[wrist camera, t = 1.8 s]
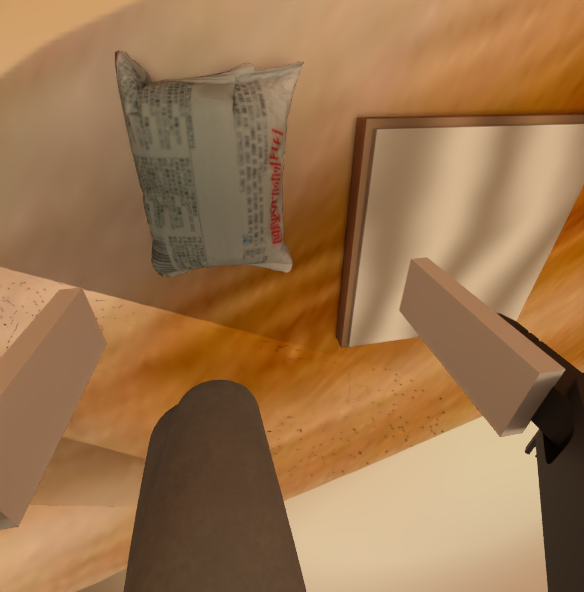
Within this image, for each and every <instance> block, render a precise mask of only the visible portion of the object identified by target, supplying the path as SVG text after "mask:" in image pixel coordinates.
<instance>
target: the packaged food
mask: <svg viewBox="0 0 584 592" xmlns="http://www.w3.org/2000/svg"><path fill="white" fill-rule="evenodd" d="M137 64H138V63H137V62H136V61H134V60H132V59H131V58H130V57H129V56H128V54H127V53H126V52H122V51H117V52H115V65H116V74H117V82H118V87H119V93H120V98H121V103H122V108H123V112H124V116H125V122H126V127H127V131H128V136H129V140H130V145H131V150H132V153H133V157H134V161H135V165H136V170H137V174H138V178H139V182H140V187H141V189H142V191H143V202H144V208H145V212H146V216H147V222H148V225H149V227H150V232H151V235H152V237H153V244H152V258H151V261H152V264H153V267H154V269H155V270H156V271H157V272H158V273H159V274H161V276H162V277H163V275H167V277H174V276H175V275H179V274H184V273H186V272H187V271H189V270H191V269H197V268H202V267H207V268H209V267H213V266H234V265H239V264H245V265H253V266H258V267H263V268H270V269H272V270H277V271H283V272H287V273H288V272H290V270H291V268H292V263H293V260H292V258H291V255H290V252H289V250H288V247H287V246H286V244H285V242H284V237H283V235H284V226H283V186H282V174H283V169H284V162H283V155H284V153H285V142H286V131H287V124H286V121H287V117H288V114H289V110H290V106H291V100H292V95H293V92H294V89H295V86H296V82H297V79H298V76H299V73H300V71H301V68H302V65H303V64H304V62H296V63H293V64H289V65H286V66H283V67H277V68H269V69H266V70H263V71H253V70H254V68H255V67H253V66H252V65H251V64H249V63H243V64H241V65H239V66H237V67H235V68H233V69H231V70H230V71H228V72H223V73H219V74H214V75H209V76H202V77H195V78H188V79H180V80H162V81H158V82H154V83H152V81H151V79H150V77H149V75H148V73H147V72H146V71H145V70H144V69H143V68H142V67H141V66H140V65H139V64H138V65H139V66H138V65H137Z"/></svg>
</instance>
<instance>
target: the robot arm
mask: <svg viewBox="0 0 584 592" xmlns="http://www.w3.org/2000/svg"><path fill="white" fill-rule="evenodd" d="M399 311H400V312H401V314H402V315H403V316H404V317H405V319H406V320H407V321H408V322H409V324H410V325H411V326H412V327H413V329H414V330H415V331H416V332H417V334H418V335H419V336H420V337H421V339H422V340H423V341H424V342H425V344H426V345H427V346H428V347H429V349H430V350H431V351H432V352H433V354H434V355H435V356H436V357H437V359H438V360H439V361H440V362H441V364H442V365H443V366H444V367H445V369H446V370H447V371H448V372H449V374H450V375H451V376H452V377H453V379H454V380H455V381H456V382H457V384H458V385H459V386H460V387H461V389H462V390H463V391H464V392H465V394H466V395H467V396H468V397H469V399H470V400H471V401H472V402H473V404H474V405H475V406H476V407H477V409H478V410H479V411H480V412H481V414H482V415H483V416H484V417H485V418H486V420H487V421H488V422H489V424H490V425H491V426H492V427H493V429H494V430H495V431H496V432H497V434H498V435H499V436H500V437H503V436H509V435H514V434H519V433H523V431H524V430H525V428H526V427H527V425H528V424H529V422H530V421H531V420H532V422H533V423H534V424H535V425H536V426H537V427H538V428H539V430H538V432H537V433H536V434H535V436H534V437H533V438H532V440H531V441H530V442H529V444H528V445H527V447H526V450H525V453H527V454H530V452H531V451H532V450H533V448H534V447H536V452H537V455H536V456H535V457H537V464H538V475H539V488H540V499H541V512H542V522H543V523H542V524H543V536H544V548H545V559H546V572H547V583H548V592H584V373H582V372H580V371H579V370H578V369H576V368H575V367H574V366H573V365H571V364H570V363H569V362H567V361H566V360H565V359H564V358H562V357H561V356H560V355H558V354H557V353H556V352H555V351H553V350H552V349H551V348H550V347H548V346H547V345H546V344H544V343H543V342H542V341H539V339H538V338H537V337H535V336H534V335H533V334H532V333H528V330H527V329H525V328H524V327H523V326H521V325H520V324H519V323H518V322H516V321H515V320H513V319H511V318H509V317H507V316H505V315H503V314H501V313H495V312H494V311H493V310H492V309H491V308H489V307H488V306H487V305H486V304H484V303H483V302H482V301H481V300H479V299H478V298H477V297H476V296H474V295H473V294H472V293H471V292H469V291H468V290H467V289H466V288H465V287H463V286H462V285H461V284H460V283H458V282H457V281H456V280H455V279H453V278H452V277H451V276H450V275H448V274H447V273H446V272H445V271H444V270H442V269H441V268H440V267H439V266H437V265H436V264H435V263H434V262H432V261H431V260H430V259H429V258H427V257H426V258H414V259H411V261H410V265H409V269H408V274H407V278H406V283H405V287H404V291H403V296H402V300H401V304H400V309H399ZM106 345H107V343H106V340H105V338H104V336H103V334H102V331H101V329H100V327H99V325H98V322H97V320H96V318H95V316H94V313H93V311H92V309H91V307H90V304H89V302H88V300H87V298H86V295H85V293H84V291H83V289H82V288H74V289H63V290H59V291H58V292H57V293H56V294H55V296H54V297H53V298H52V299H51V300H50V301H49V303H48V304H47V305H46V306H45V307H44V308H43V310H42V311H41V312H40V313H39V314H38V315H37V316H36V318H35V319H34V320H33V321H32V322H31V323H30V325H29V326H28V327H27V328H26V329H25V330H24V332H23V333H22V334H21V335H20V336H19V337H18V338H17V340H16V341H15V342H14V343H13V344H12V345H11V347H10V348H9V349H8V350H7V351H6V352H5V354H4V355H3V356H2V357H1V358H0V530H2V529H8V528H13V527H18V526H19V524H20V522H21V520H22V518H23V516H24V514H25V512H26V510H27V508H28V506H29V504H30V501H31V499H32V497H33V495H34V493H35V491H36V489H37V487H38V485H39V483H40V481H41V479H42V477H43V475H44V473H45V471H46V468H47V466H48V464H49V462H50V460H51V458H52V456H53V454H54V452H55V450H56V448H57V446H58V444H59V442H60V440H61V437H62V435H63V433H64V431H65V429H66V427H67V425H68V423H69V421H70V419H71V417H72V415H73V413H74V411H75V409H76V407H77V404H78V402H79V400H80V398H81V396H82V394H83V392H84V390H85V388H86V386H87V384H88V382H89V380H90V378H91V376H92V374H93V371H94V369H95V367H96V365H97V363H98V361H99V359H100V357H101V355H102V353H103V351H104V349H105V347H106Z"/></svg>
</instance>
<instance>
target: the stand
mask: <svg viewBox="0 0 584 592" xmlns="http://www.w3.org/2000/svg"><path fill="white" fill-rule="evenodd" d="M583 185H584V113H583V114H529V115H475V116H420V117H366V118H357V127H356V137H355V148H354V158H353V169H352V179H351V189H350V200H349V210H348V220H347V231H346V241H345V252H344V262H343V272H342V283H341V293H340V303H339V314H338V324H337V335H336V338H337V340H338V342H339V344H340V346H341V348H344V347H351V346H358V345H365V344H372V343H379V342H386V341H393V340H400V339H407V338H414V337H420V336H419V335H418V334H417V332H416V331H415V330H414V329H413V327H412V326H411V325H410V324H409V322H408V321H407V320H406V319H405V317H404V316H403V315H402V314H401V312H400V311H399V309H400V304H401V300H402V296H403V291H404V287H405V283H406V278H407V274H408V269H409V265H410V261H411V259H414V258H426V257H427V258H429V259H430V260H431V261H432V262H434V263H435V264H436V265H437V266H439V267H440V268H441V269H442V270H444V271H445V272H446V273H447V274H448V275H450V276H451V277H452V278H453V279H455V280H456V281H457V282H458V283H460V284H461V285H462V286H463V287H465V288H466V289H467V290H468V291H469V292H471V293H472V294H473V295H474V296H476V297H477V298H478V299H479V300H481V301H482V302H483V303H484V304H486V305H487V306H488V307H489V308H491V309H492V310H493V311H494V312H495V313H501V314H503V315H505V316H507V317H509V318H511V319H513V320H515V321H516V320H517V318H518V316H519V314H520V312H521V310H522V308H523V306H524V304H525V302H526V300H527V298H528V296H529V294H530V292H531V290H532V288H533V286H534V284H535V282H536V280H537V278H538V276H539V274H540V272H541V270H542V268H543V266H544V264H545V262H546V260H547V258H548V256H549V254H550V252H551V250H552V248H553V246H554V244H555V242H556V240H557V238H558V236H559V234H560V232H561V229H562V227H563V225H564V223H565V221H566V219H567V217H568V215H569V213H570V211H571V209H572V207H573V205H574V203H575V201H576V199H577V197H578V195H579V193H580V191H581V189H582V187H583Z"/></svg>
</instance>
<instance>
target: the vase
mask: <svg viewBox="0 0 584 592" xmlns="http://www.w3.org/2000/svg"><path fill="white" fill-rule="evenodd" d="M124 592H306V588H305V584H304V580H303V576H302V572H301V568H300V564H299V560H298V556H297V552H296V548H295V544H294V540H293V536H292V532H291V529H290V525H289V521H288V517H287V514H286V509H285V505H284V501H283V498H282V494H281V490H280V486H279V483H278V479H277V475H276V472H275V468H274V464H273V461H272V457H271V453H270V449H269V446H268V442H267V438H266V434H265V430H264V426H263V422H262V419H261V415H260V411H259V407H258V404H257V401H256V399H255V397H254V396H253V394H252V393H251V392H250V391H249V390H248V389H247V388H246V387H244V386H243V385H241V384H238V383H236V382H233V381H227V380H212V381H207V382H204V383H201V384H199V385H197V386H195V387H193V388H192V389H190V390H189V391H188V392H187V393H186V394H185V395H184V396H183V397H182V399H181V400H180V402H179V404H178V405H176V406H174V407H173V408H171V409H170V410H169V411H167V412H166V413H165V414H164V415H163V416H162V417H161V418H160V419H159V421H158V422H157V424H156V426H155V427H154V429H153V432H152V434H151V438H150V442H149V447H148V452H147V457H146V462H145V468H144V473H143V478H142V483H141V489H140V494H139V500H138V505H137V511H136V517H135V523H134V529H133V535H132V540H131V546H130V552H129V559H128V566H127V573H126V580H125V586H124Z"/></svg>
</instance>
